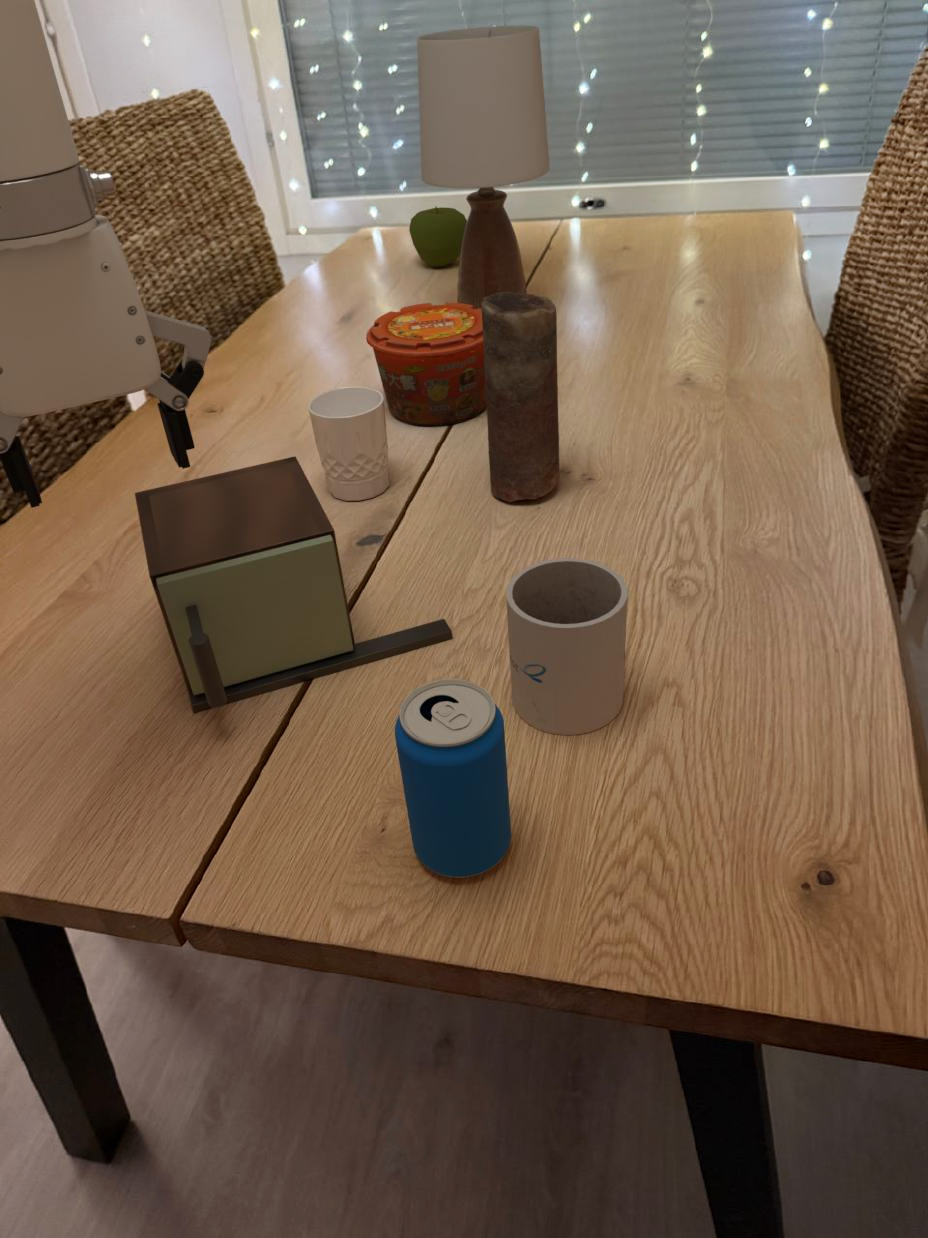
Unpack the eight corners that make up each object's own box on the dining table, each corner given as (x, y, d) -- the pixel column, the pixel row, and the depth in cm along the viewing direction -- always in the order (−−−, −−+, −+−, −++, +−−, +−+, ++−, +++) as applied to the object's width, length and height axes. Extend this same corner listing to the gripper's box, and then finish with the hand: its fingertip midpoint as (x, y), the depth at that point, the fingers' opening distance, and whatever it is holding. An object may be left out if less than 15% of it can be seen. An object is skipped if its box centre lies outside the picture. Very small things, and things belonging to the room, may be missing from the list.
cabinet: (193, 713, 73) (151, 590, 66) (171, 606, 85) (134, 492, 78) (452, 638, 78) (440, 516, 71) (397, 547, 91) (381, 436, 83)
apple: (457, 274, 161) (453, 214, 155) (403, 272, 164) (396, 213, 158) (479, 256, 169) (475, 198, 163) (426, 254, 172) (421, 197, 166)
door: (202, 737, 69) (164, 623, 63) (192, 689, 74) (155, 578, 67) (371, 687, 72) (351, 574, 66) (351, 644, 77) (330, 534, 70)
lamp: (559, 288, 151) (556, 20, 129) (541, 328, 136) (534, 35, 114) (449, 288, 155) (428, 29, 133) (420, 327, 141) (391, 44, 118)
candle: (508, 467, 102) (499, 284, 90) (570, 477, 100) (569, 289, 88) (479, 499, 97) (465, 310, 85) (543, 511, 94) (539, 316, 82)
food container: (403, 444, 109) (392, 356, 102) (359, 398, 121) (347, 316, 114) (523, 412, 113) (520, 326, 107) (470, 371, 125) (464, 291, 119)
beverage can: (465, 792, 64) (451, 659, 57) (532, 843, 60) (526, 708, 53) (394, 845, 61) (369, 712, 54) (459, 903, 57) (442, 767, 50)
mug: (636, 726, 68) (641, 619, 62) (521, 742, 68) (516, 635, 62) (598, 627, 78) (599, 526, 72) (497, 640, 78) (491, 540, 72)
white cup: (364, 463, 106) (351, 380, 100) (409, 483, 101) (399, 397, 95) (309, 489, 102) (292, 404, 96) (354, 512, 97) (339, 424, 91)
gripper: (161, 173, 57) (221, 428, 67) (-147, 220, 52) (-31, 490, 62) (188, 193, 52) (249, 467, 62) (-154, 248, 46) (-25, 540, 56)
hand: (109, 478), depth 62 cm, fingers open, 9 cm apart
